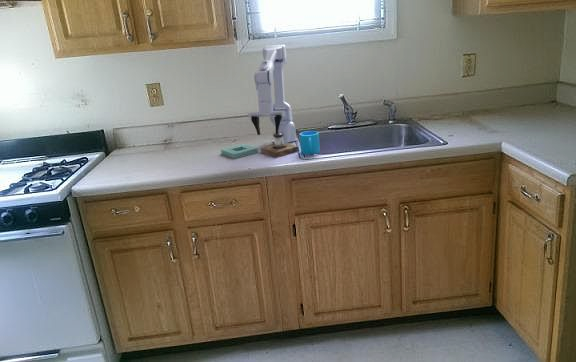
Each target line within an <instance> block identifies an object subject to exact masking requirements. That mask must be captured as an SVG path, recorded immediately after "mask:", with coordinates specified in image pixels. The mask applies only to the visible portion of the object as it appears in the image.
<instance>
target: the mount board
mask: <svg viewBox="0 0 576 362" xmlns="http://www.w3.org/2000/svg"><path fill="white" fill-rule="evenodd" d="M299 148H300V147H299V146H298V145H295V144H292V143H289V142H288V143H284V148H282V149H275V143H274V144H271V145H270V144H269V145H267V146H262V147H261V148H260V153H263V154H266V155H269V156H271V157H275V158H278V157H281V156H285V155H289V154H292V153H297V152H299V151H300V149H299Z"/></svg>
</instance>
